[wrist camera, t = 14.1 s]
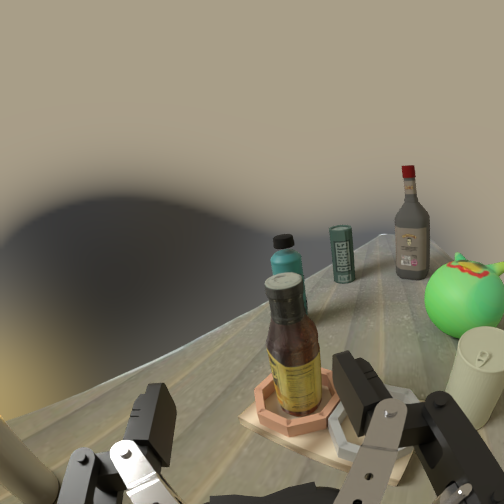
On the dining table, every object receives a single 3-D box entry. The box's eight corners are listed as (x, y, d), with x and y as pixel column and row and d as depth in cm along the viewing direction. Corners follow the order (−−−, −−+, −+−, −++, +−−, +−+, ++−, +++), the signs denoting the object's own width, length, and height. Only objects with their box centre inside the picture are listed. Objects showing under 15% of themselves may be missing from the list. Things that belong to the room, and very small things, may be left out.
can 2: (426, 416, 27) (446, 351, 24) (456, 379, 31) (473, 315, 27) (474, 442, 19) (509, 378, 16) (499, 399, 23) (526, 334, 19)
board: (240, 424, 35) (237, 416, 34) (291, 374, 44) (290, 366, 43) (396, 486, 19) (399, 480, 18) (428, 410, 28) (431, 402, 27)
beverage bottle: (274, 324, 61) (258, 238, 56) (296, 312, 64) (284, 230, 59) (293, 335, 56) (279, 242, 50) (315, 321, 59) (305, 232, 53)
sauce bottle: (284, 387, 39) (264, 267, 33) (325, 388, 36) (316, 264, 31) (273, 418, 33) (245, 291, 27) (318, 422, 31) (308, 290, 25)
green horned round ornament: (406, 329, 47) (410, 260, 43) (449, 299, 52) (454, 238, 48) (475, 368, 31) (495, 289, 27) (509, 324, 35) (522, 256, 31)
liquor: (423, 281, 63) (420, 166, 55) (394, 277, 70) (387, 167, 62) (430, 269, 69) (426, 164, 61) (403, 266, 76) (396, 165, 67)
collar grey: (313, 447, 27) (313, 437, 26) (355, 388, 35) (356, 377, 34) (400, 475, 19) (405, 466, 18) (429, 405, 27) (433, 393, 26)
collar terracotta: (241, 414, 35) (237, 403, 34) (289, 368, 43) (287, 357, 42) (311, 447, 27) (310, 436, 26) (353, 388, 35) (354, 376, 34)
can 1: (353, 273, 78) (350, 224, 74) (355, 282, 73) (352, 229, 69) (333, 275, 80) (328, 226, 76) (334, 284, 75) (329, 231, 71)
